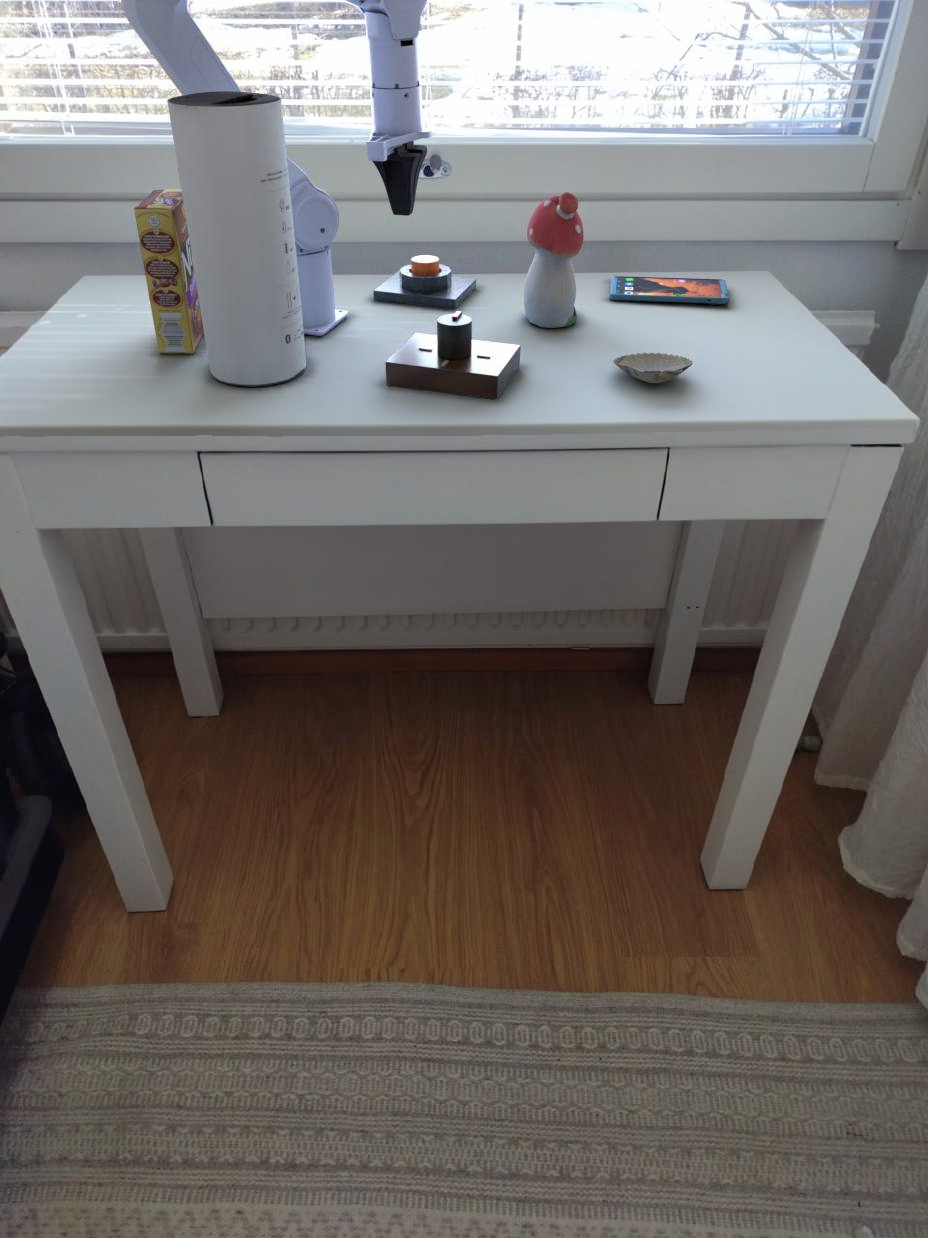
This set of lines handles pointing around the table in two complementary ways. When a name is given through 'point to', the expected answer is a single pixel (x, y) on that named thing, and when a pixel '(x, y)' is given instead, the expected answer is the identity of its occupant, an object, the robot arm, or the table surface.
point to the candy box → (169, 271)
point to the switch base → (425, 288)
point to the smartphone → (669, 289)
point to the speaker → (241, 233)
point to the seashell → (653, 366)
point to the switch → (425, 265)
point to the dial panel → (453, 367)
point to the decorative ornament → (553, 262)
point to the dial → (454, 336)
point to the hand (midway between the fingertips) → (402, 213)
